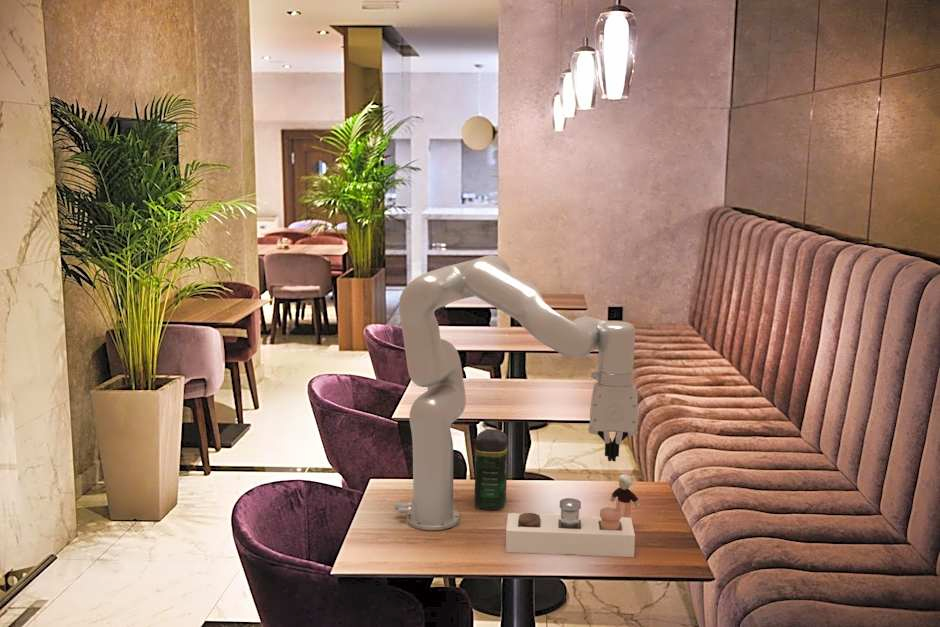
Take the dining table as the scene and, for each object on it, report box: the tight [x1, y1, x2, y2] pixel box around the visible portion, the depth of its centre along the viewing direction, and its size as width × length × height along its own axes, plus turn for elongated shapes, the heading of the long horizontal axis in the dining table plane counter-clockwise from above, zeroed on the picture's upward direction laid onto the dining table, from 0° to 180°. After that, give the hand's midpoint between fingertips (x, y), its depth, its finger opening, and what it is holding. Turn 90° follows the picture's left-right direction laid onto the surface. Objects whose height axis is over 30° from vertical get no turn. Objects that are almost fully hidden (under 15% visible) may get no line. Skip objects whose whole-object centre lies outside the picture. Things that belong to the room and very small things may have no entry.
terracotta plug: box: [599, 507, 621, 530], centre depth 215 cm, size 5×5×6 cm
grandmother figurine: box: [609, 473, 641, 518], centre depth 226 cm, size 8×4×13 cm, turn 62°
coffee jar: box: [474, 428, 508, 511], centre depth 239 cm, size 10×8×19 cm
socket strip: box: [505, 512, 636, 558], centre depth 216 cm, size 28×10×5 cm, turn 85°
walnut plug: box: [519, 512, 540, 527], centre depth 216 cm, size 5×5×6 cm
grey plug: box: [559, 497, 582, 529], centre depth 215 cm, size 5×5×6 cm
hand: (611, 459), depth 212 cm, fingers closed
